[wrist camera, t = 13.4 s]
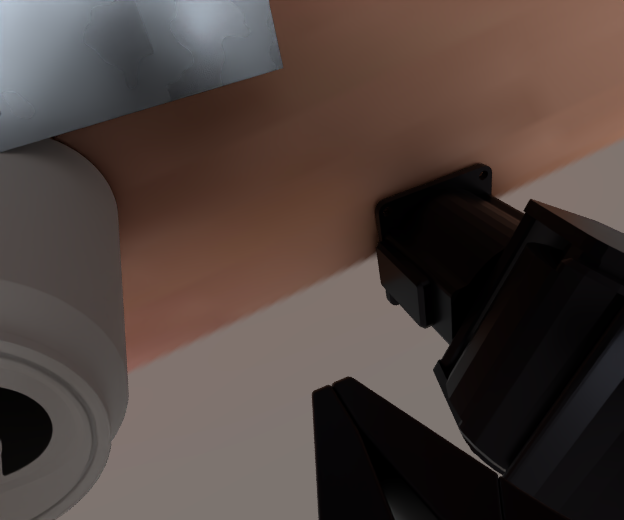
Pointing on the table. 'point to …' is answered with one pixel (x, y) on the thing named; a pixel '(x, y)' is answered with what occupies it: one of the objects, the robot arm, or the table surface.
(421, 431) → the robot arm
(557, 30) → the table surface
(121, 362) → the beverage can
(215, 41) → the jig plate
